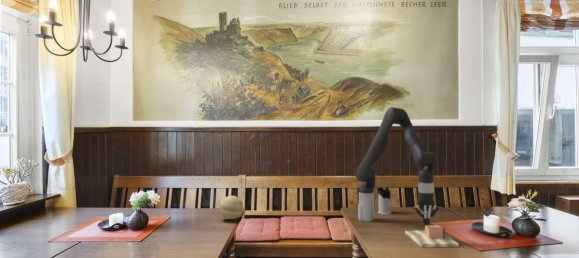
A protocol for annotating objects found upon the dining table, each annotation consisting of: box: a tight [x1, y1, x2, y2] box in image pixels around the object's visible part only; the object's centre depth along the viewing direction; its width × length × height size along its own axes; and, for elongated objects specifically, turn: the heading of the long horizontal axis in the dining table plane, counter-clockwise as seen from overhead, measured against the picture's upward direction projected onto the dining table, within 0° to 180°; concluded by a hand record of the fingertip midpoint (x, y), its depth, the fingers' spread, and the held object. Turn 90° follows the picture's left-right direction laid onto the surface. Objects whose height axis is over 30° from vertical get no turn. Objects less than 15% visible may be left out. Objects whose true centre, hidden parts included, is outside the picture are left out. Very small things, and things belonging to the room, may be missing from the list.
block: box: [424, 225, 446, 238], centre depth 181 cm, size 5×5×8 cm
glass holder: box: [377, 189, 400, 215], centre depth 238 cm, size 9×14×15 cm, turn 96°
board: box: [404, 229, 460, 249], centre depth 181 cm, size 18×22×2 cm
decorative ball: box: [219, 195, 244, 220], centre depth 225 cm, size 15×15×15 cm
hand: (426, 225), depth 181 cm, fingers closed
